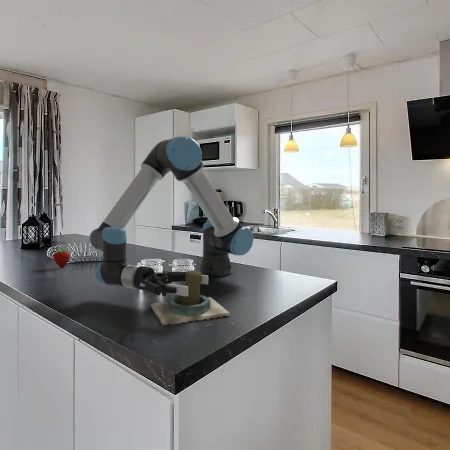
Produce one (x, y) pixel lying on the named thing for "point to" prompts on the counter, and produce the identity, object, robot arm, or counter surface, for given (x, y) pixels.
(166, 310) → the ring stand
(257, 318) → the counter surface
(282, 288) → the counter surface
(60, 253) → the strawberry
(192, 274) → the cork
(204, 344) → the counter surface
